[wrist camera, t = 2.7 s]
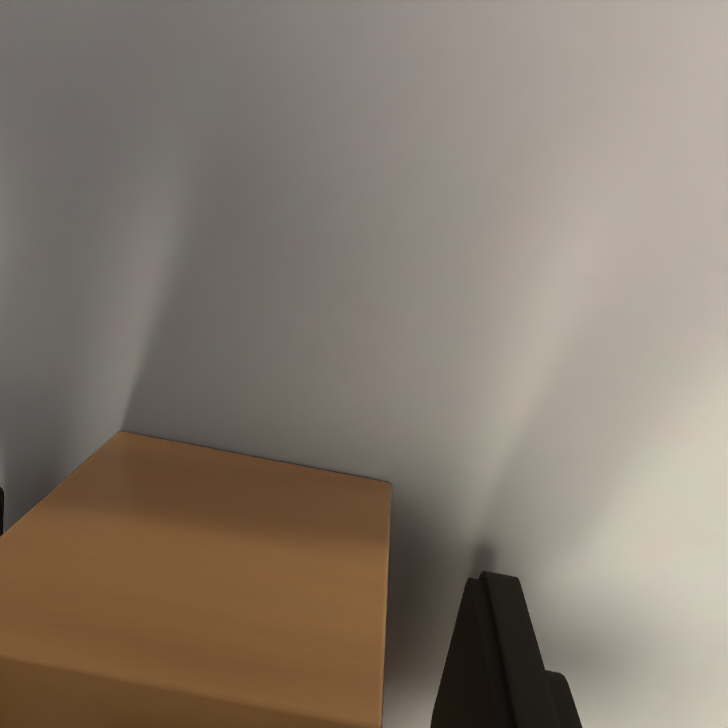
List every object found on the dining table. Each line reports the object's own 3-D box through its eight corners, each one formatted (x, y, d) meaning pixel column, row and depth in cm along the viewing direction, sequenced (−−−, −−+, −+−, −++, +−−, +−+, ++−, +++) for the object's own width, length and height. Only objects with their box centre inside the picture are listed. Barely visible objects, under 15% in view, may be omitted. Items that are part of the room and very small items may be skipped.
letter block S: (118, 429, 11) (-128, 646, 6) (392, 482, 11) (382, 747, 6) (99, 658, 12) (-117, 1001, 7) (344, 706, 12) (301, 1084, 7)
